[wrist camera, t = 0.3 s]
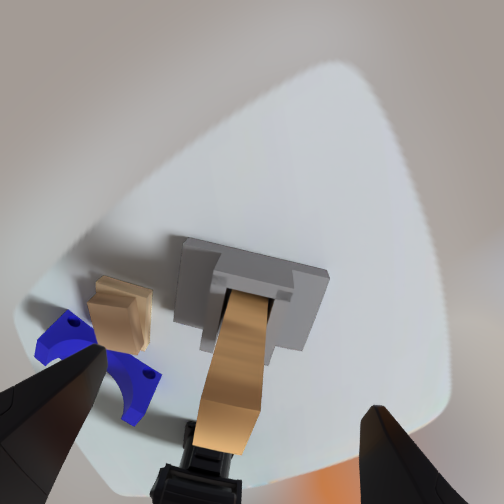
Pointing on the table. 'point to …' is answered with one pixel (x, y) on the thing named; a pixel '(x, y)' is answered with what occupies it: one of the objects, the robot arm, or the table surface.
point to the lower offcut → (131, 290)
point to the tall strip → (234, 377)
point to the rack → (251, 281)
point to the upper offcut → (116, 322)
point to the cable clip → (119, 364)
